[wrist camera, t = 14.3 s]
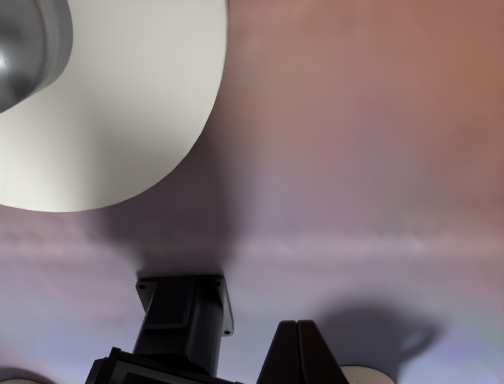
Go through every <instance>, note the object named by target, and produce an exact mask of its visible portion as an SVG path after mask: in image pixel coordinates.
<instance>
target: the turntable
mask: <svg viewBox="0 0 504 384" xmlns="http://www.w3.org/2000/svg"><path fill="white" fill-rule="evenodd" d="M67 2H68V5H69V9H70V12H71V18H72V24H73V46H72V51H71V56H70V59H69V61H68V64H67V66H66V68H65V69H64V71H63V73H62V74H61V75H60V76H59V77H58V79H57V80H56V81H54V82H53V83H52V84H51V85H49V86H47V87H46V88H44V89H42V90H41V91H39V92H37V93H36V94H34V95H32V96H30V97H29V98H27V99H25V100H24V101H22V102H20V103H19V104H17V105H15V106H13V107H12V108H10V109H8V110H6V111H5V112H3V113H0V204H3V205H6V206H11V207H17V208H22V209H28V210H35V211H47V212H77V211H84V210H91V209H98V208H102V207H106V206H109V205H113V204H117V203H120V202H122V201H125V200H127V199H129V198H132V197H134V196H136V195H139V194H140V193H142V192H144V191H145V190H147V189H149V188H150V187H152V186H154V185H155V184H157V183H158V182H159V181H160V180H162V179H163V178H164V177H165V176H166V175H168V174H169V173H170V172H171V171H172V170H174V168H175V167H176V166H177V165H178V164H179V163H180V162H181V161H182V159H183V158H184V157H185V156H186V155H187V154H188V153H189V151H190V149H191V148H192V146H193V145H194V143H195V142H196V140H197V139H198V137H199V136H200V134H201V132H202V130H203V128H204V126H205V123H206V121H207V119H208V117H209V115H210V113H211V110H212V108H213V105H214V102H215V99H216V97H217V93H218V90H219V87H220V83H221V80H222V77H223V73H224V68H225V61H226V55H227V49H228V33H229V8H228V0H67Z"/></svg>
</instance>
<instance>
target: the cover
mask: <svg viewBox="0 0 504 384" xmlns="http://www.w3.org/2000/svg"><path fill="white" fill-rule="evenodd" d="M72 46H73V24H72V18H71V12H70V9H69V5H68V2H67V0H0V113H3V112H5V111H6V110H8V109H10V108H12V107H13V106H15V105H17V104H19V103H20V102H22V101H24V100H25V99H27V98H29V97H30V96H32V95H34V94H36V93H37V92H39V91H41V90H42V89H44V88H46V87H47V86H49V85H51V84H52V83H53V82H54V81H56V80H57V79H58V77H59V76H60V75H61V74H62V73H63V71H64V69H65V68H66V66H67V64H68V61H69V59H70V56H71V51H72Z"/></svg>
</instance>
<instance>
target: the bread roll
mask: <svg viewBox="0 0 504 384" xmlns="http://www.w3.org/2000/svg"><path fill="white" fill-rule="evenodd" d="M0 384H40V383H37V382H34V381H31V380H24V379H12V380H6V381H3V382H1V383H0Z"/></svg>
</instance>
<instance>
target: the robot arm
mask: <svg viewBox="0 0 504 384" xmlns="http://www.w3.org/2000/svg"><path fill="white" fill-rule="evenodd" d="M216 281H218V282H216ZM136 290H137V292H138V295H139V297H140V300H141V302H142V305H143V308H144V310H145V313H146V314H145V317H144V320H143V323H142V326H141V329H140V332H139V335H138V338H137V341H136V344H135V347H134V350H133V352H132V354H131V353H128V352H124V351H121V349H120V348H116V347H113V348H112V350H111V353H110V355H109V358H108V357H105V358H102V359H98V360H95V361H94V363H93V366H92V368H91V370H90V373H89V375H88V377H87V380H86V382H85V384H244V383H240V382H237V381H236V382H231V381H228V380H224V379H220V378H217V377H216V375H217V367H218V359H219V351H220V342H221V337H225V336H231V335H233V332H234V326H233V321H232V316H231V311H230V306H229V301H228V296H227V291H226V286H225V281H224V278H223V277H222V276H220V275H201V276H179V277H157V278H141V279H138V281H137V283H136ZM256 384H350V383H349V381H348V380H347V378H346V376H345V374H344V373H343V371H342V369H341V367H340V366H339V364H338V362H337V360H336V359H335V357H334V355H333V353H332V352H331V350H330V348H329V346H328V345H327V343H326V341H325V339H324V338H323V336H322V334H321V332H320V331H319V329H318V327H317V325H316V324H315V322H314V321H313V320H298V321H297V323H296V321H294V320H286V321H281V322H280V323H279V325H278V328H277V330H276V333H275V335H274V338H273V341H272V343H271V346H270V349H269V351H268V354H267V356H266V359H265V362H264V364H263V367H262V370H261V372H260V375H259V377H258V380H257V383H256Z"/></svg>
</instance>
